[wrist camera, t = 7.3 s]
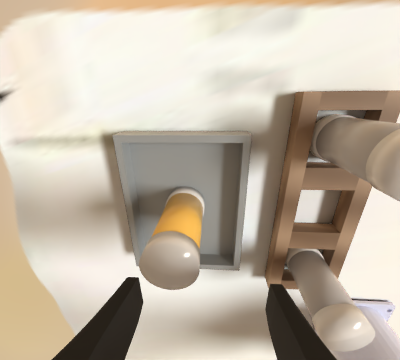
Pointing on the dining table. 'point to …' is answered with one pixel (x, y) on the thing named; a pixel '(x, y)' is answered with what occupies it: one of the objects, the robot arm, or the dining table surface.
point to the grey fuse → (328, 302)
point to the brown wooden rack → (321, 182)
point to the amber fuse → (175, 242)
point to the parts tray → (187, 176)
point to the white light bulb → (361, 149)
